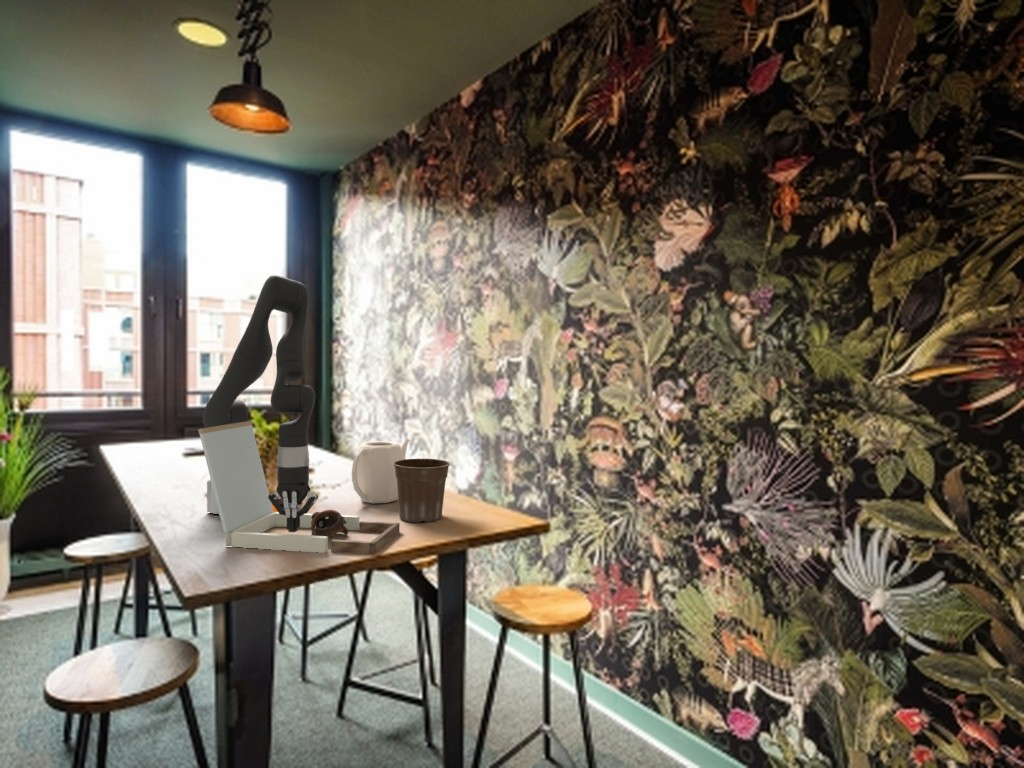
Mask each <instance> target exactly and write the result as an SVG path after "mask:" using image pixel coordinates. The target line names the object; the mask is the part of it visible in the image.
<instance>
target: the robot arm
mask: <svg viewBox="0 0 1024 768" xmlns="http://www.w3.org/2000/svg"><path fill="white" fill-rule="evenodd" d="M308 304H309V292H308V288H307V287H306V285H305V284H304V283H302V282H300V281H298V280H295V279H290V278H288V277H284V276H281V275H278V274H271V275H269V276H268V277H267V279H266V280H265V282H264V283H263V286H262V287H261V290H260V293H259V295H258V298H257V301H256V304H255V307H254V309H253V311H252V314H251V318H250V319H249V322H248V325H247V327H246V329H245V330H244V332H243V335H242V337H241V339H240V341H239V343H238V344H237V347H236V348H235V351H234V353H233V356H232V357H231V359H230V363H229V364H228V367H227V369H226V371H225V373H224V374H223V377H222V379H221V380H220V382H219V384H218V385H217V388H216V389H215V391H214V392H213V394H212V395H211V397H210V398H209V400H208V402H207V404H206V406H205V407H204V411H203V414H202V424H203V426H204V428H208V427H215V426H221V425H227V424H234V423H240V422H246V421H249V411H248V408H247V407H248V406H246V404H245V402H244V401H242V400H241V399H238V397H239V396H240V395H241V394H242V393H243V392H244V391H245V390H247V389H248V388H249V387H251V386H252V385H253V384H254V383H255V382H257V380H258V379H259V378H260V377H261V376H262V375H263V374H264V373H265V371H266V369H267V367H268V365H269V364H270V361H271V359H272V356H273V353H274V352H273V350H274V348H273V343H272V340H271V338H272V337H271V334H270V331H269V320H270V316H271V315H272V313H273V311H274V310H275V311H278V312H282V313H286V314H289V315H290V324H289V327H288V328H287V330H286V331H285V333H283V335H282V337H281V338H280V339H279V341H278V343H277V346H276V349H275V361H276V376H275V377H276V378H275V382H274V386H273V389H272V391H271V396H270V405H271V407H272V410H273V411H275V412H276V413H278V414H290V413H291V414H292V413H293V414H295V413H298V414H299V415H298V417H297V418H296V419H294V420H291V421H286V422H283V423H281V424H280V425H279V426H278V431H277V433H278V449H277V472H276V473H277V487H276V490H275V491H274V492H272V493H271V494H269V496H268V498H269V500H270V501H271V503H272V506H273V507H274V508H275V509H276V512H279V514H280V515H285V516H286V518H287V527H286V530H288V533H296V532H298V531H299V529H300V516H302V515H304V514H306V513H307V514H308V513H309V511H310V510H311V508H313V506H314V504H315V503H316V502H317V501H318V500H319V495H318V494H314V492H311V487H310V485H309V482H310V452H309V424H310V420H311V416H312V413H313V409H314V406H315V401H316V392H315V390H314V388H313V387H312V386H311V385H310V384H308V385H307V384H290V383H292V382H297V381H300V380H302V379H304V378H305V376H306V373H307V371H306V370H307V369H306V356H305V335H306V326H307V317H308V315H307V313H308V306H309V305H308ZM305 499H306V502H305V503H303V502H304V501H305ZM303 504H304V505H303ZM207 512H210V513H213V514H219V510H218V506H217V502H216V498H215V494H214V490H213V486H212V482H211V478H209V480H207V481H206V513H207ZM210 513H209V514H210ZM213 514H212V515H213Z"/></svg>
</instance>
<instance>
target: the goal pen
mask: <svg viewBox="0 0 1024 768" xmlns="http://www.w3.org/2000/svg"><path fill="white" fill-rule="evenodd" d="M358 531H359V532H360V533H361V532H363V533H376V532H383V533H379V535H377V536H376V537H375V538H373V539H372V540H371V541H364V540H347V539H346V540H345V539H332V540H331V541H330V544H331V545H330V547H331V548H330V550H331V552H333V553H334V552H335V553H351V554H366V555H367V554H369V555H375V554H376V553H377V552H379V551H380V550H379V549H380V548H381V547H382V548H384V547H385V546H386V545H387V544H388V543H387V542H388V541H389V540H390V541H391V540H392V539H394V536H395V535H396V534H397V533H398V534H399V533H400V522H386V521H385V522H384V521H366V520H365V521H364V520H359V529H358ZM398 534H397V535H398ZM397 535H396V536H397ZM396 536H395V537H396ZM390 541H389V542H390ZM382 548H381V549H382Z"/></svg>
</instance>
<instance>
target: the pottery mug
mask: <svg viewBox="0 0 1024 768" xmlns="http://www.w3.org/2000/svg"><path fill="white" fill-rule="evenodd" d="M312 514H313V515H312V522H311V525H312V526H311V528H310V530H311V531H310V532H311V536H328V539H329V538H331V537H332V536H333V537H334V536H336V535H337V534H338V533H342V534H344V535H345V536H346V535H347V536H348V535H349V534H348V533H349V530H348V529H347V528H346V527H345V526H344V525H343V524H347V521H346V520H345V519H344V517H343V516H341V515H342V514H341V513H340V512H339V511H337V510H334V509H325V510H323V511H316V512H314V513H312ZM326 517H329V518H328V519H325V518H326ZM315 526H316V528H315Z"/></svg>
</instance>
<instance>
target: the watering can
mask: <svg viewBox="0 0 1024 768" xmlns="http://www.w3.org/2000/svg"><path fill="white" fill-rule="evenodd" d="M409 443H410V439H408V438H405V439H404V441H403V443H402V445H400V444H399V443H397V442H396V441H390V440H383V441H382V440H379V441H378V440H377V441H375V440H374V441H366V442H363V443H361V444H360V445H359V446H358V448H357V449H358V450H357V453H356V454H355V455H354V458H353V462H352V467H351V482H352V486H353V490H354V491H355V492H356V494H357V495H358V497H359V498H360V500H361V502H363V503H368V504H373V505H375V504H388V503H392V502H395V501H398V487H397V478H396V474H395V466H394V465H393V463H394V462H395V461H399V460H404V459H406V454H407V449H408V448H407V447H408V445H409Z"/></svg>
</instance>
